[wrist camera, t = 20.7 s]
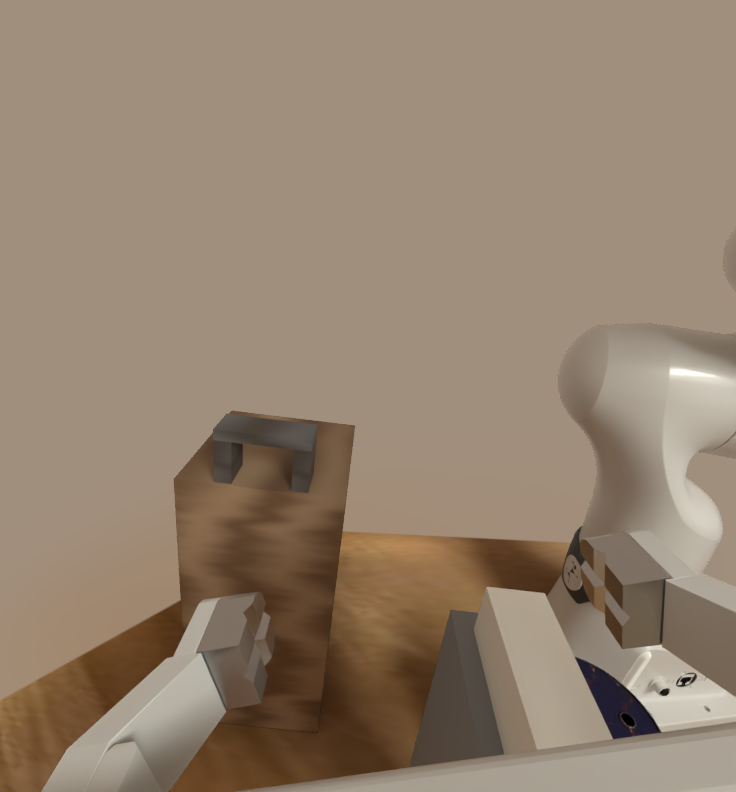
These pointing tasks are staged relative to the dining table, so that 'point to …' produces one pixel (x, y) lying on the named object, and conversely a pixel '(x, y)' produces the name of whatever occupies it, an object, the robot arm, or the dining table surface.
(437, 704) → the post
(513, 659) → the cream long block
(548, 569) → the dining table surface
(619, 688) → the navy cylinder
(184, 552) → the stand
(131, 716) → the robot arm
